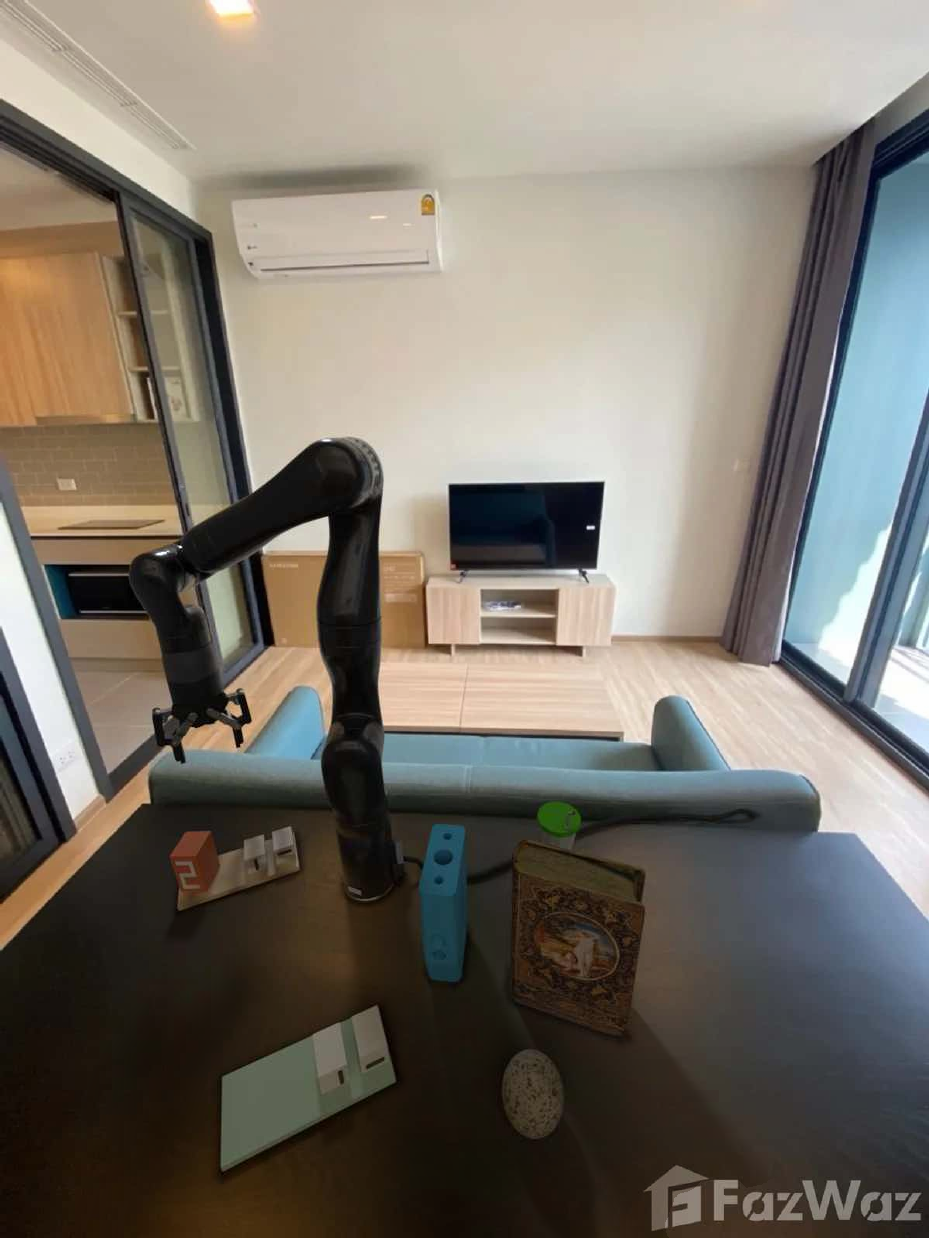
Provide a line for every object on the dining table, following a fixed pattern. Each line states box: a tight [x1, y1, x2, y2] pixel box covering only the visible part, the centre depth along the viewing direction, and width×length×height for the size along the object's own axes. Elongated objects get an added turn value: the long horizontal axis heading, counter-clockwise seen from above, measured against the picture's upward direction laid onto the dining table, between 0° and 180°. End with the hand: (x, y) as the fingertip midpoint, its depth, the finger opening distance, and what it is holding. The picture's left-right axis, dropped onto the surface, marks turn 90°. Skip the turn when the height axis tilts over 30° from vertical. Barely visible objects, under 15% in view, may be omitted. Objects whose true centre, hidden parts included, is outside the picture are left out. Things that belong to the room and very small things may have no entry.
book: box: [508, 839, 646, 1038], centre depth 66 cm, size 16×6×25 cm, turn 71°
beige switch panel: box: [176, 825, 301, 912], centre depth 92 cm, size 20×9×4 cm, turn 113°
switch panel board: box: [220, 1004, 397, 1172], centre depth 62 cm, size 20×9×4 cm, turn 113°
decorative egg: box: [501, 1048, 565, 1140], centre depth 58 cm, size 7×7×10 cm
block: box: [418, 823, 468, 983], centre depth 74 cm, size 12×5×20 cm, turn 173°
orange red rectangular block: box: [169, 830, 220, 892], centre depth 88 cm, size 4×6×8 cm
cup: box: [536, 800, 582, 850], centre depth 91 cm, size 8×8×15 cm
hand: (211, 752), depth 86 cm, fingers open, 8 cm apart
